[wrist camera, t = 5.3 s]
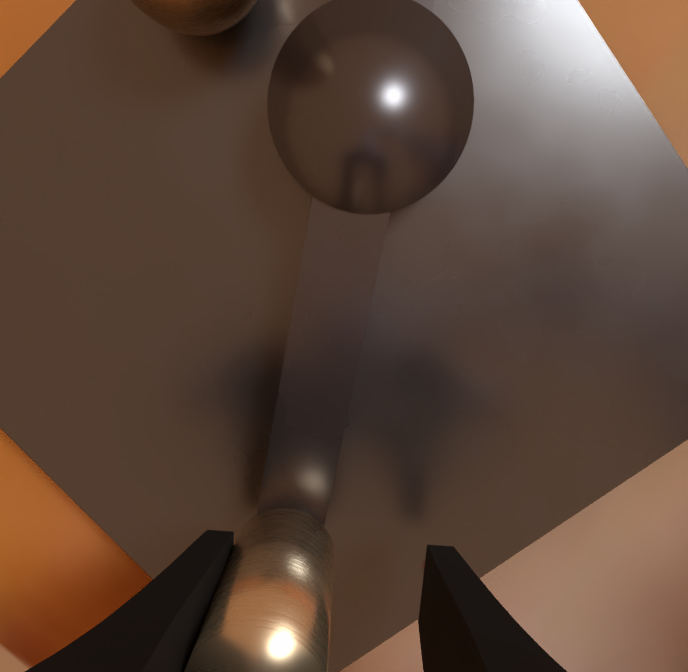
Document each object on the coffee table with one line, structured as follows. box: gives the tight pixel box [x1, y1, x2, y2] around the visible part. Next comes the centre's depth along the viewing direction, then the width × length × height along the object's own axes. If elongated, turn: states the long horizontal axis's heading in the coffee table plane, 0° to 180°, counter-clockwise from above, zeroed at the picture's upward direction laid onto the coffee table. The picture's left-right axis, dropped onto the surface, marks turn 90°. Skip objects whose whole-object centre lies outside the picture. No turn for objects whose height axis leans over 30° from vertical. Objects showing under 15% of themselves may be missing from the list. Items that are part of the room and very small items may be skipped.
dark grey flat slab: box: [0, 0, 688, 672], centre depth 11 cm, size 17×17×4 cm
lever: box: [184, 0, 474, 672], centre depth 9 cm, size 16×4×4 cm, turn 169°
